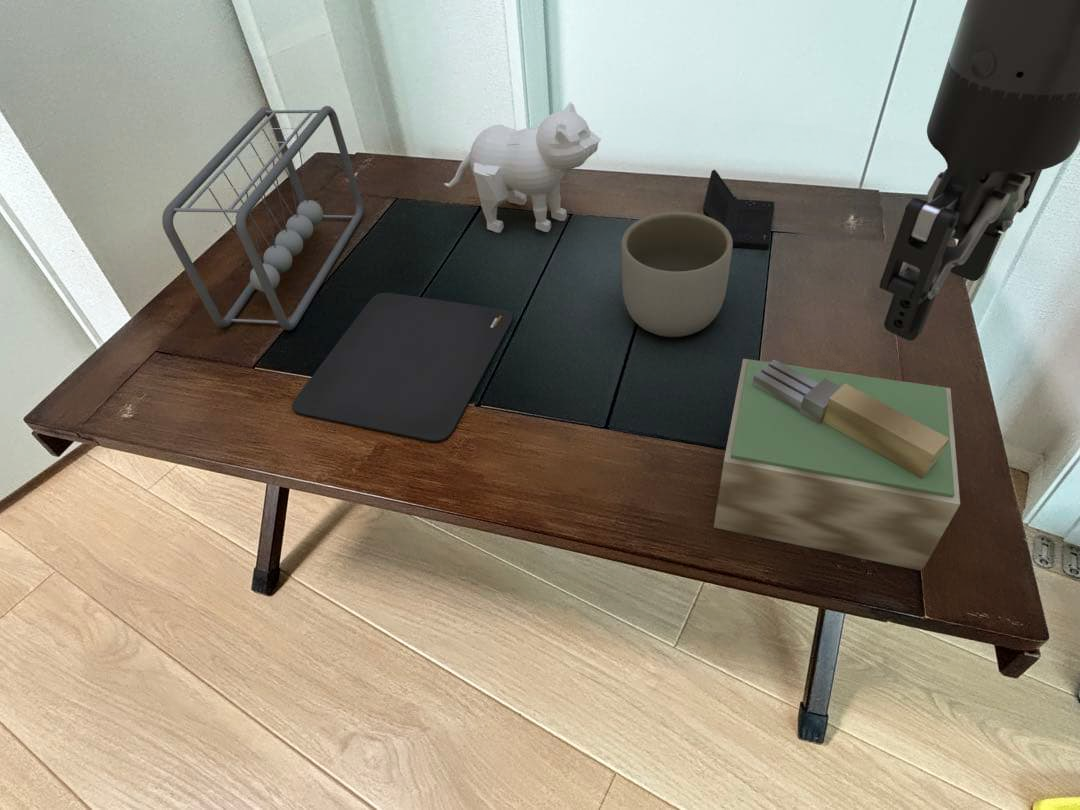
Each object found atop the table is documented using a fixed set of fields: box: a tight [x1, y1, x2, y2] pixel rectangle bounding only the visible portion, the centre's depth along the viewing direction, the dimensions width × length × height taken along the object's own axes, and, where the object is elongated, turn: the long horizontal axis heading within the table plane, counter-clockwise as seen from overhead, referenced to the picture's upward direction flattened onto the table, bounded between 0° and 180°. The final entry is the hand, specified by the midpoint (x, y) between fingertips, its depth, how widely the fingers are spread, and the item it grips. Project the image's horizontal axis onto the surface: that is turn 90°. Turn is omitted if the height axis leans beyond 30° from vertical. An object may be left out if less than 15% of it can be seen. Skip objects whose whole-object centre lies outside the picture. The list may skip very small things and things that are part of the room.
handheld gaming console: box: [702, 169, 775, 251], centre depth 99 cm, size 12×7×10 cm
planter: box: [620, 210, 734, 338], centre depth 85 cm, size 12×12×11 cm
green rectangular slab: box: [731, 359, 955, 498], centre depth 62 cm, size 17×12×1 cm
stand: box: [713, 358, 961, 572], centre depth 66 cm, size 18×13×10 cm
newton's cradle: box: [161, 105, 364, 331], centre depth 97 cm, size 30×10×18 cm, turn 170°
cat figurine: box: [443, 101, 602, 234], centre depth 101 cm, size 25×10×17 cm, turn 71°
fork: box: [753, 358, 949, 479], centre depth 61 cm, size 16×3×3 cm, turn 42°
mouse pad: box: [291, 292, 514, 443], centre depth 87 cm, size 23×20×1 cm
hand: (933, 302), depth 49 cm, fingers open, 8 cm apart
